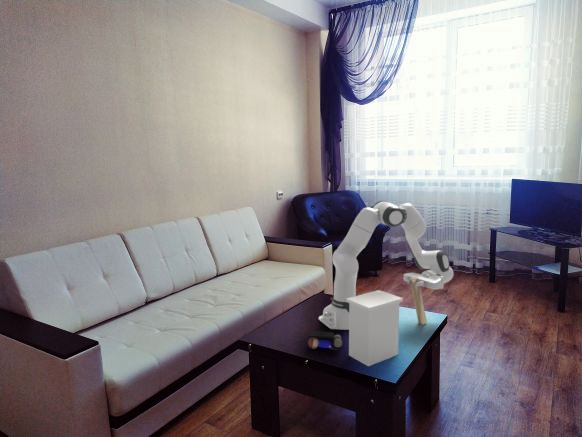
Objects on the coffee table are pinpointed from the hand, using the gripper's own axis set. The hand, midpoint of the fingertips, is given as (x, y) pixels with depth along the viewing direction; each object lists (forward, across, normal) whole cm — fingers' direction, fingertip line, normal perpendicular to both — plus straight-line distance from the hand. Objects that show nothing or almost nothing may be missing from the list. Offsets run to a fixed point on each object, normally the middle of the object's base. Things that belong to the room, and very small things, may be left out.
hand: (411, 283), depth 212 cm
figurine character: (+50, -7, +23) cm, 56 cm away
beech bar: (-7, 0, +10) cm, 12 cm away
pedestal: (+37, +11, +23) cm, 45 cm away
